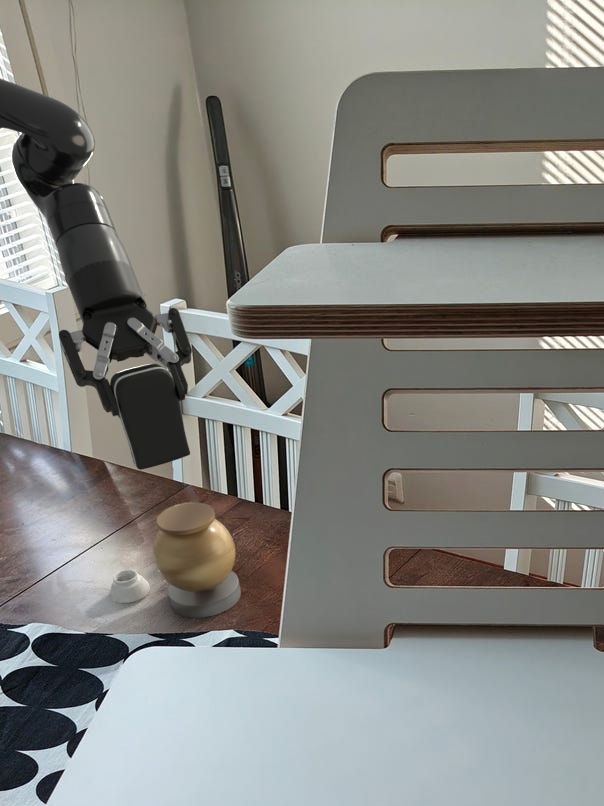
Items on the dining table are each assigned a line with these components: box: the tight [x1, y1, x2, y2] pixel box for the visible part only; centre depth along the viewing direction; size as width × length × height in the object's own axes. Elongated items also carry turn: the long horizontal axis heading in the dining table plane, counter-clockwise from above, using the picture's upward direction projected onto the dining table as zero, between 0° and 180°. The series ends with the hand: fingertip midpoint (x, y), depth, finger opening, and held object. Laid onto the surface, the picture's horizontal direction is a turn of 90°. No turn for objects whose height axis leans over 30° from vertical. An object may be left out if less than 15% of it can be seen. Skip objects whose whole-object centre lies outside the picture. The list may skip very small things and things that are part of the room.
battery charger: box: [109, 362, 191, 471], centre depth 115 cm, size 7×4×11 cm, turn 124°
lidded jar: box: [152, 501, 242, 619], centre depth 124 cm, size 10×10×12 cm
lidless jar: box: [109, 569, 151, 604], centre depth 128 cm, size 5×3×5 cm
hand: (149, 405), depth 113 cm, fingers closed on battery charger, 7 cm apart
